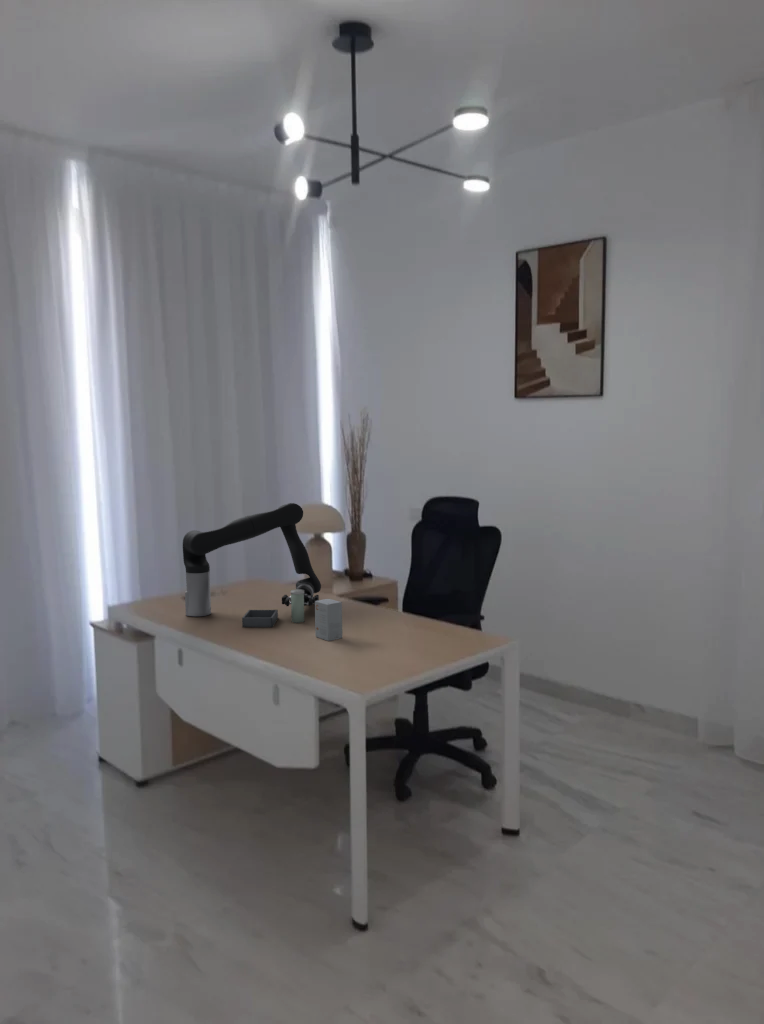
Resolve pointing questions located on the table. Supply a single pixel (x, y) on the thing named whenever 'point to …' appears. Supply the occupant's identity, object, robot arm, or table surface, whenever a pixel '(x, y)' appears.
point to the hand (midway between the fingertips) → (298, 603)
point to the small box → (328, 619)
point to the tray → (260, 618)
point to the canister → (297, 605)
